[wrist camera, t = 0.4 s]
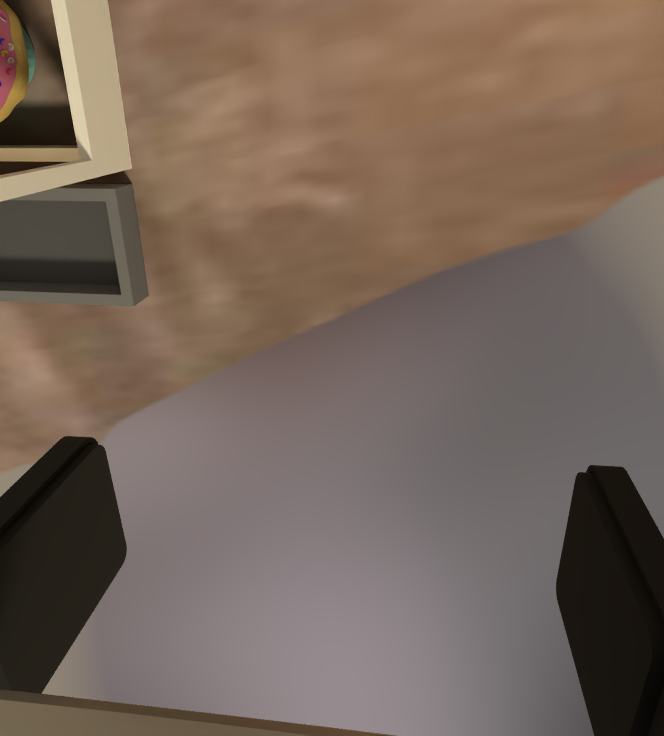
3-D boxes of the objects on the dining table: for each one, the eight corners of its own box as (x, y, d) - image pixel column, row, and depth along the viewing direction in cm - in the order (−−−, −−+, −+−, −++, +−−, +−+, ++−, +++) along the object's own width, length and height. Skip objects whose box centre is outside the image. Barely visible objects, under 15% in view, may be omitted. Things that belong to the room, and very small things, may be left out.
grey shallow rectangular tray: (-66, 181, 42) (-93, 186, 40) (132, 183, 40) (115, 188, 38) (-36, 288, 45) (-59, 298, 43) (148, 295, 43) (133, 306, 41)
